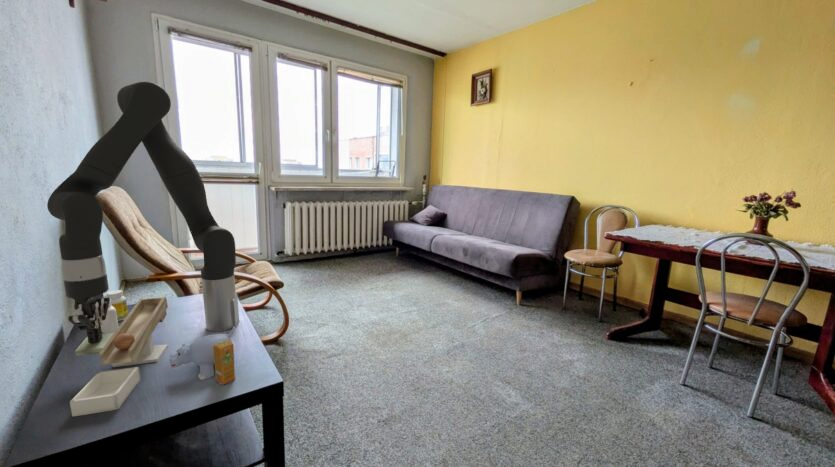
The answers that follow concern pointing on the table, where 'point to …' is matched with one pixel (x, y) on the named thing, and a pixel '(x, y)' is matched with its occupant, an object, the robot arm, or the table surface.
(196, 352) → the hippopotamus toy
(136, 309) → the tilting chute
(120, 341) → the ball
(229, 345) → the supplement box
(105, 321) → the eye dropper bottle
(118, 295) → the supplement bottle
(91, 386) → the bin
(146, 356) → the chute stand
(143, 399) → the table surface
